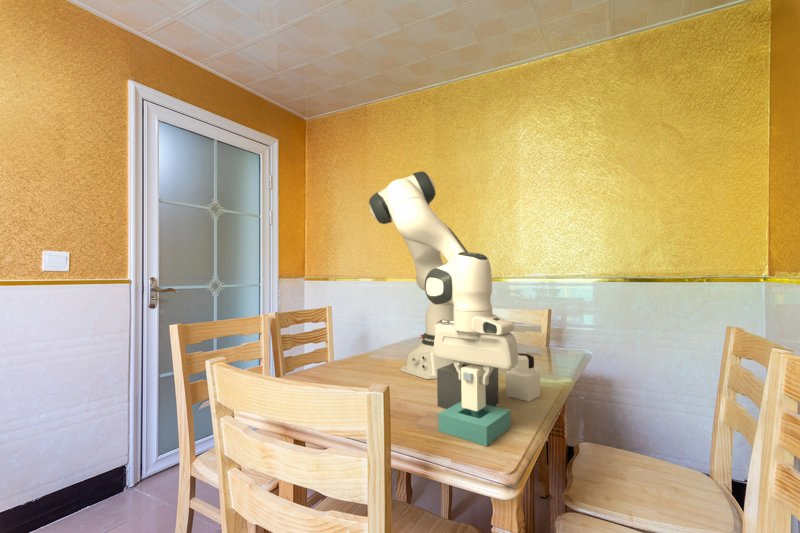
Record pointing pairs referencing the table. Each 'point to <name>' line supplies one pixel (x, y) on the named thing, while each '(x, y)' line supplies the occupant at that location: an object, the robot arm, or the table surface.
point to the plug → (472, 388)
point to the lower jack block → (474, 423)
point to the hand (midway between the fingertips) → (473, 382)
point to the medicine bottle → (523, 379)
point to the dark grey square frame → (451, 386)
